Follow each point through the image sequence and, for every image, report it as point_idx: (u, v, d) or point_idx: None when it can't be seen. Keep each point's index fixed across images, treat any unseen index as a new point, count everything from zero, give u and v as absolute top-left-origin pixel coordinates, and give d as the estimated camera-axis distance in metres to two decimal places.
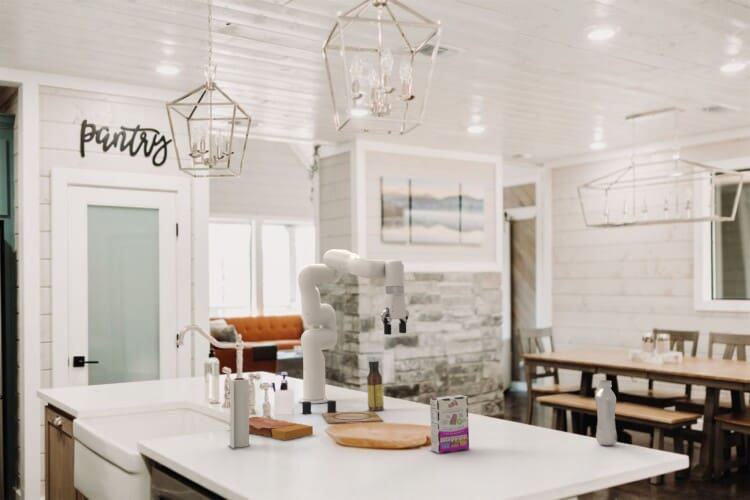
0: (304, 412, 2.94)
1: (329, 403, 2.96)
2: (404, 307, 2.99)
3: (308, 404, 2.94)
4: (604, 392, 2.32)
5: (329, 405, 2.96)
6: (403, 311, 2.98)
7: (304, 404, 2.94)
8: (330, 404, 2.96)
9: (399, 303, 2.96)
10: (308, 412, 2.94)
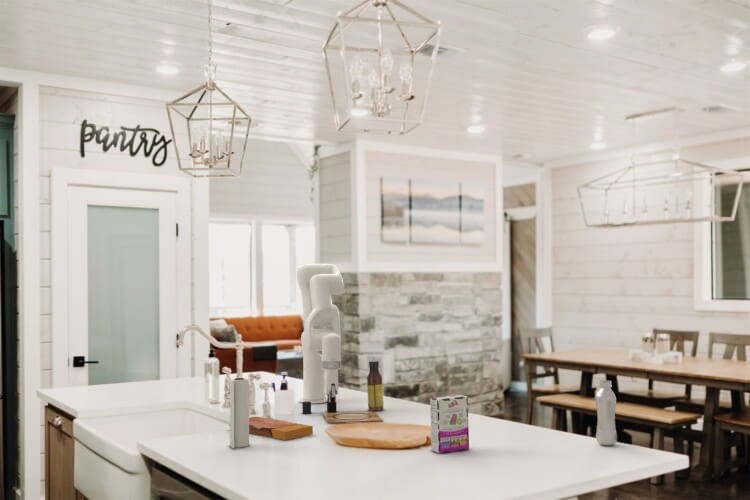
0: (304, 412, 2.94)
1: None
2: None
3: (308, 404, 2.94)
4: (604, 392, 2.32)
5: None
6: None
7: (304, 404, 2.94)
8: None
9: None
10: (308, 412, 2.94)
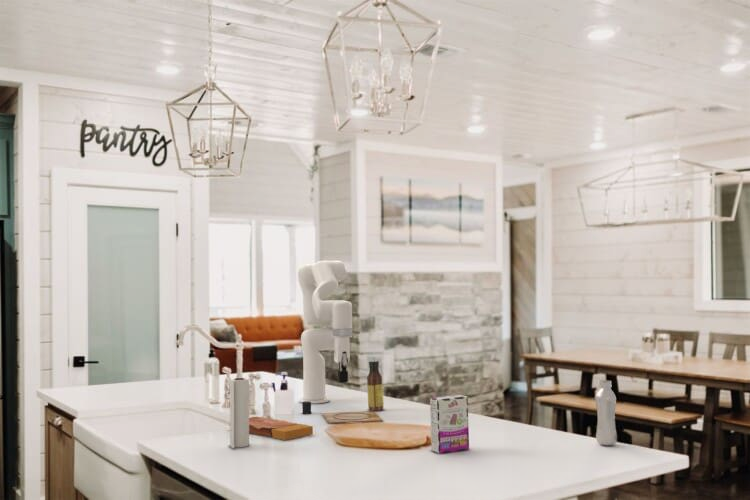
0: (304, 412, 2.94)
1: None
2: None
3: (308, 404, 2.94)
4: (604, 392, 2.32)
5: None
6: None
7: (304, 404, 2.94)
8: None
9: None
10: (308, 412, 2.94)
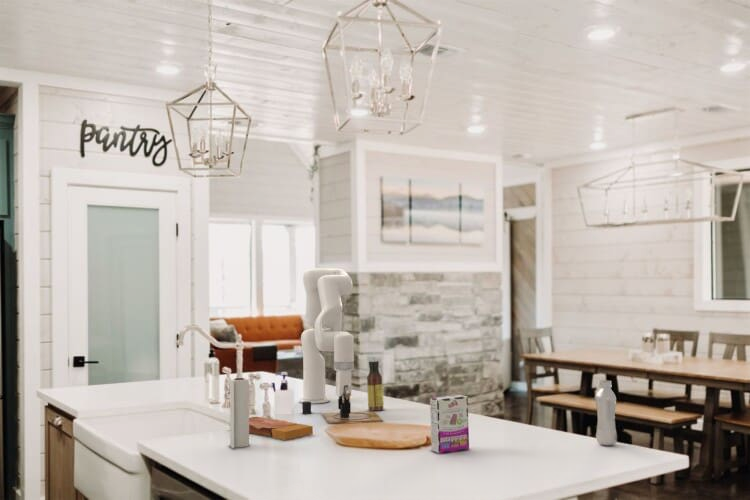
0: (304, 412, 2.94)
1: None
2: None
3: (308, 404, 2.94)
4: (604, 392, 2.32)
5: None
6: None
7: (304, 404, 2.94)
8: None
9: None
10: (308, 412, 2.94)
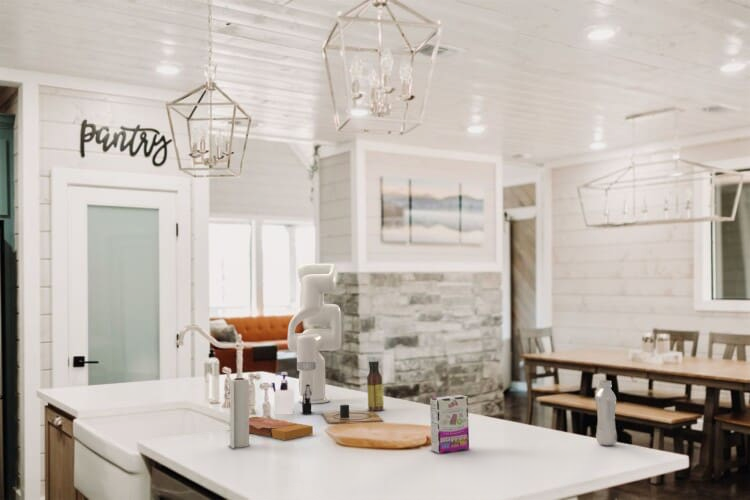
0: None
1: (342, 407, 2.82)
2: None
3: None
4: (604, 392, 2.32)
5: (342, 410, 2.82)
6: None
7: None
8: (343, 408, 2.82)
9: None
10: None
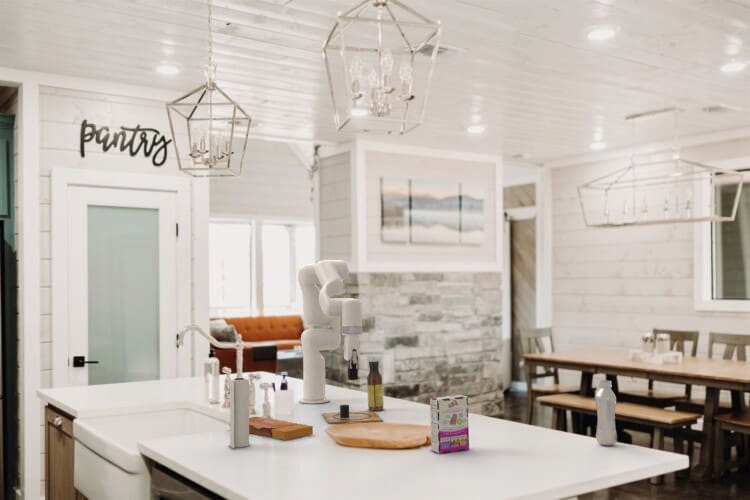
0: None
1: (342, 407, 2.82)
2: None
3: None
4: (604, 392, 2.32)
5: (342, 410, 2.82)
6: None
7: None
8: (343, 408, 2.82)
9: None
10: None
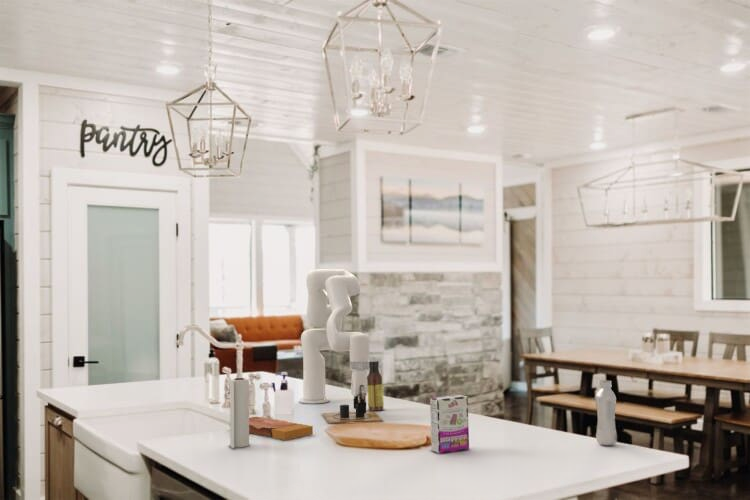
0: (358, 415, 2.83)
1: (342, 407, 2.82)
2: None
3: None
4: (604, 392, 2.32)
5: (342, 410, 2.82)
6: None
7: None
8: (343, 408, 2.82)
9: None
10: (362, 415, 2.83)
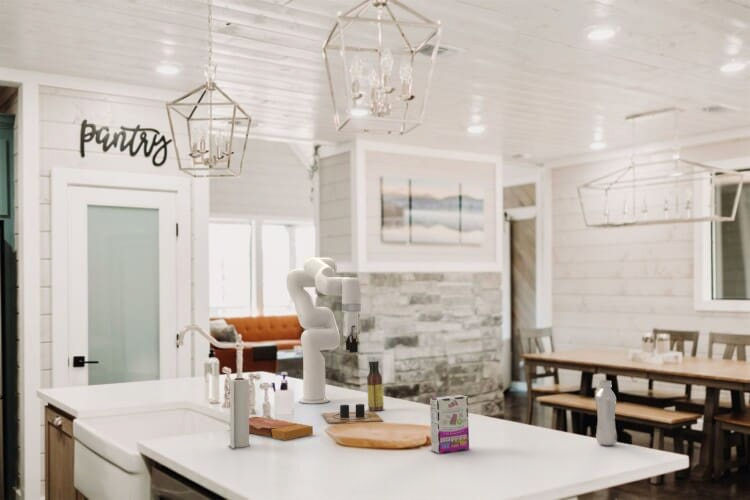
0: (358, 415, 2.83)
1: (342, 407, 2.82)
2: None
3: (362, 407, 2.83)
4: (604, 392, 2.32)
5: (342, 410, 2.82)
6: None
7: (358, 407, 2.83)
8: (343, 408, 2.82)
9: None
10: (362, 415, 2.83)
